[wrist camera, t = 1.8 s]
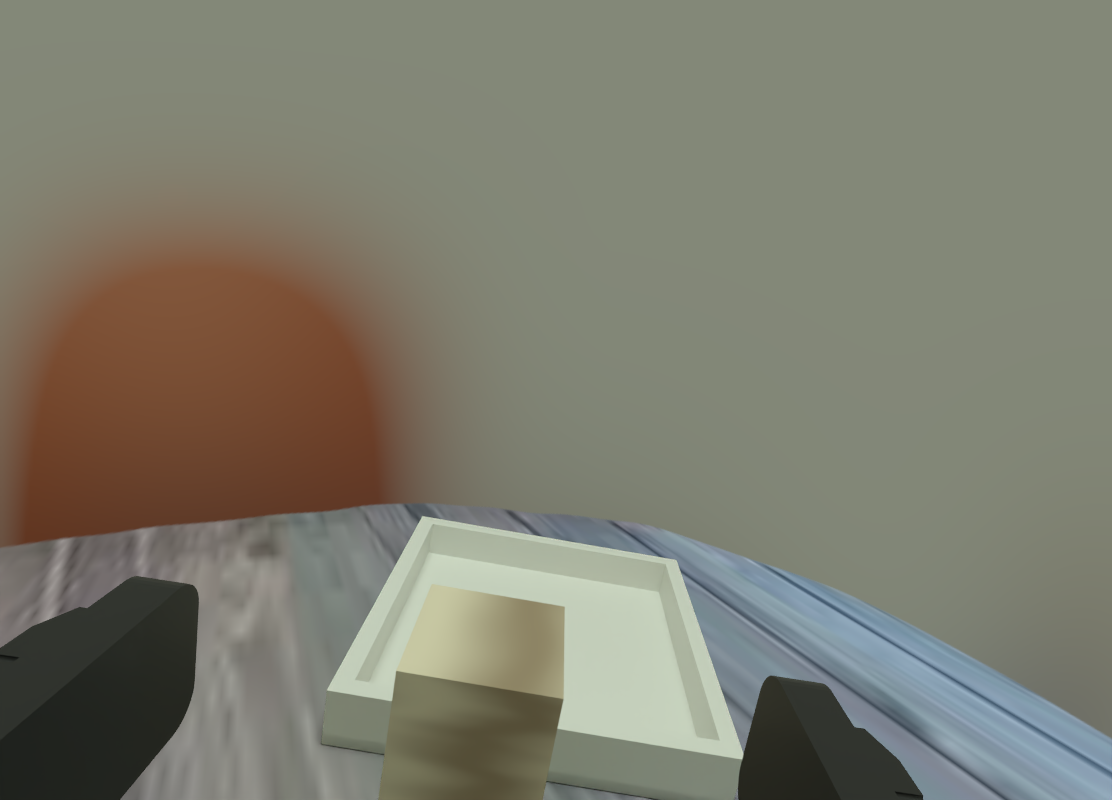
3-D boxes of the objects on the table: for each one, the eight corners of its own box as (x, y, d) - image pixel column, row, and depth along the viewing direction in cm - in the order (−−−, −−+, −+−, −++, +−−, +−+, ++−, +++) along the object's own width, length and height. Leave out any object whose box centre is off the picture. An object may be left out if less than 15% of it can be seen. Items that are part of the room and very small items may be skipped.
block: (354, 977, 21) (395, 671, 19) (393, 842, 26) (431, 583, 24) (500, 1000, 22) (563, 698, 19) (513, 862, 26) (564, 606, 24)
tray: (321, 744, 30) (326, 690, 30) (417, 551, 50) (422, 516, 49) (730, 811, 31) (745, 760, 30) (667, 594, 50) (676, 560, 50)
